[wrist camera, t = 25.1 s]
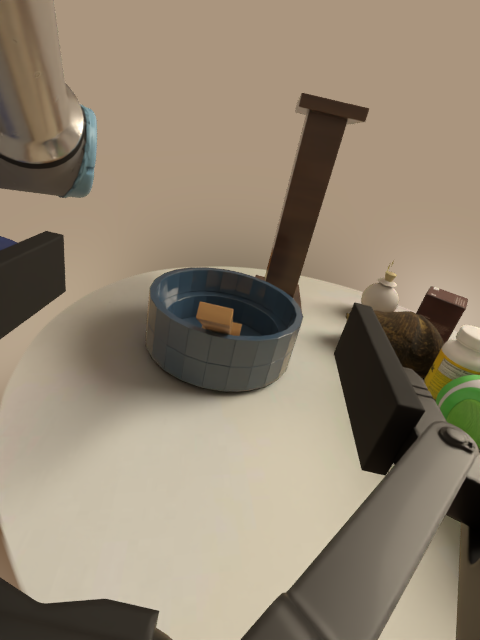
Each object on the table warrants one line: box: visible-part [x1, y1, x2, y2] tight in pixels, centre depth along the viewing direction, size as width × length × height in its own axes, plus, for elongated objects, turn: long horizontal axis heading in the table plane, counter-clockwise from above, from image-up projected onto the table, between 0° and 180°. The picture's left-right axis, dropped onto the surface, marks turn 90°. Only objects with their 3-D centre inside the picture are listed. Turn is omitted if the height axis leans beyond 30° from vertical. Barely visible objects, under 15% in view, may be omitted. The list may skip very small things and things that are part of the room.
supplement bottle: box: [424, 325, 480, 402], centre depth 42 cm, size 5×5×10 cm
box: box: [416, 287, 468, 343], centre depth 59 cm, size 6×6×7 cm
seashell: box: [346, 310, 445, 378], centre depth 50 cm, size 16×9×7 cm, turn 80°
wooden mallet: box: [196, 302, 242, 336], centre depth 35 cm, size 21×4×2 cm
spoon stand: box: [256, 93, 369, 311], centre depth 53 cm, size 12×8×29 cm, turn 174°
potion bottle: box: [361, 262, 399, 312], centre depth 61 cm, size 6×7×10 cm
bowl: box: [146, 268, 303, 391], centre depth 42 cm, size 18×18×7 cm
